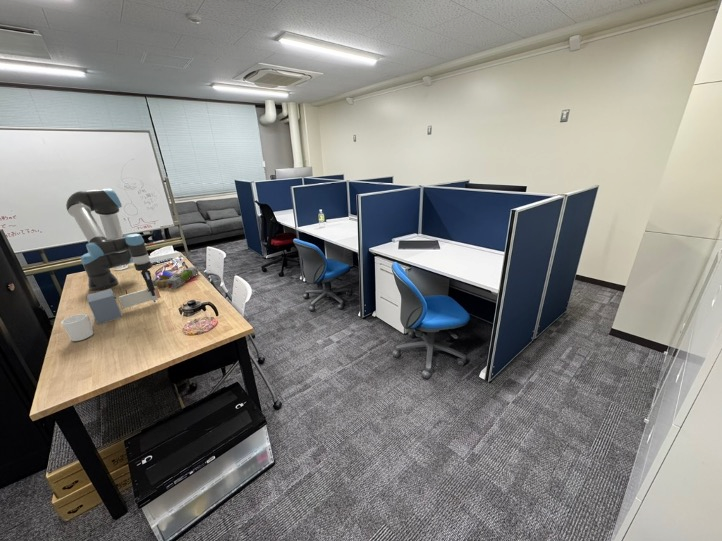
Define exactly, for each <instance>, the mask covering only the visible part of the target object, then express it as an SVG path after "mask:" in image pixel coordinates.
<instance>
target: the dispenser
mask: <svg viewBox="0 0 722 541" xmlns="http://www.w3.org/2000/svg"><path fill="white" fill-rule="evenodd" d="M87 303H88V306H89V307H90V310H91V312H92V315H93V318H94V319H95V322H96V324H97V325H101V324H104V323H107V322H111V321H114V320H117V319H121V318H122V313H121V309H120V307H119V304H118V302H117V297H116V294H115V292H114V291H113V289H112V288H107V289H103V290H101V291H96V292H93V293H88V294H87Z"/></svg>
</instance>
